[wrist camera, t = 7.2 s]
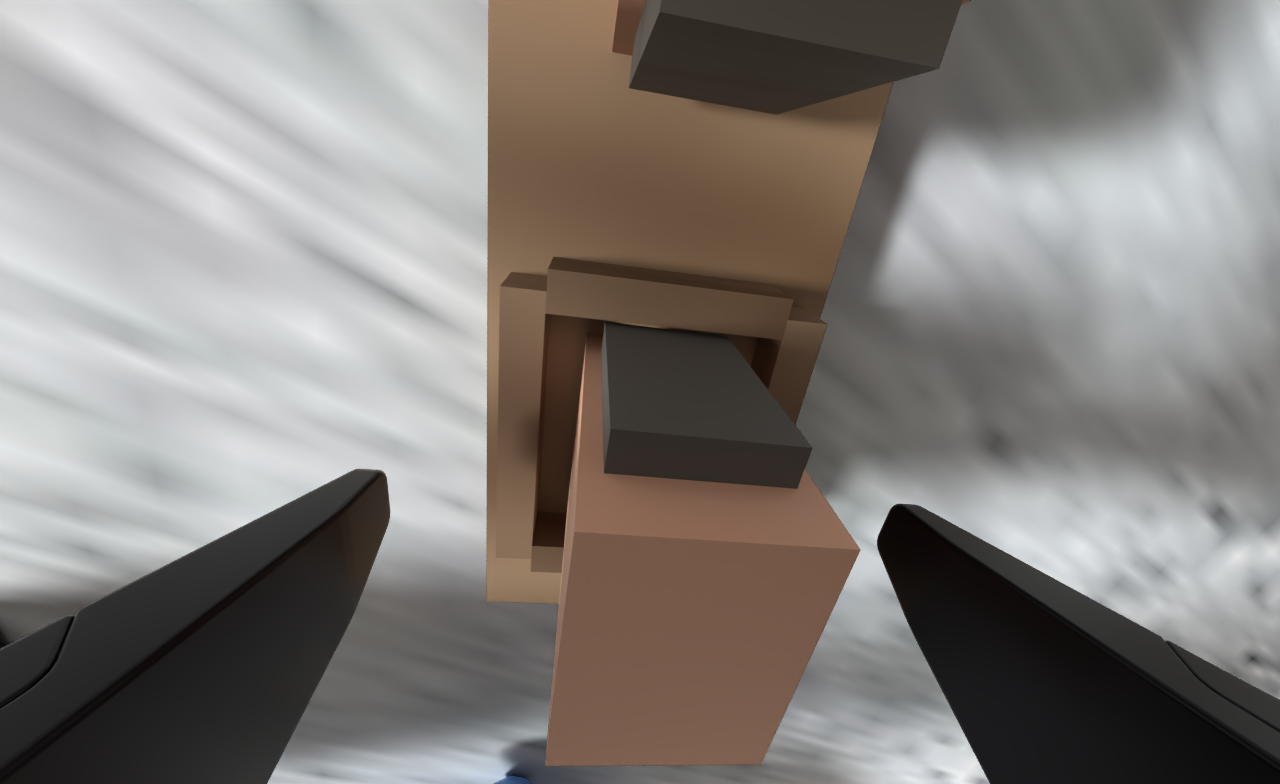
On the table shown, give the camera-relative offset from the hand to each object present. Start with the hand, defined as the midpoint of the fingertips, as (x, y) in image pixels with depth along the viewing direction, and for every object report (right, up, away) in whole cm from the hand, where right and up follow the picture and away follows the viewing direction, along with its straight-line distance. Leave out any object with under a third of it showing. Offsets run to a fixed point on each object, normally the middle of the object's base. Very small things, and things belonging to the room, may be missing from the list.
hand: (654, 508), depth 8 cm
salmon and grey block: (0, +1, +3) cm, 3 cm away
